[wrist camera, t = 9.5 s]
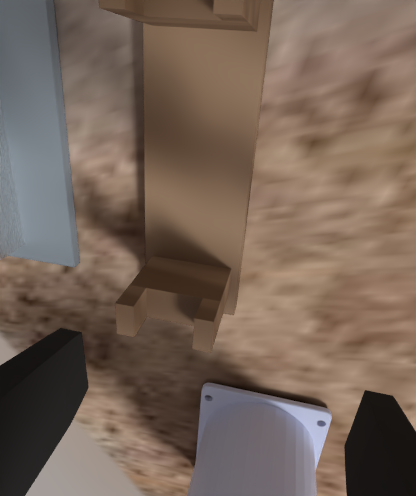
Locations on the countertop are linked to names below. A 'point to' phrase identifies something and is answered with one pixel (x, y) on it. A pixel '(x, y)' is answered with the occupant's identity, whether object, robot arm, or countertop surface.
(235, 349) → the countertop surface
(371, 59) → the countertop surface
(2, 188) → the steel rail
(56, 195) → the slate mat
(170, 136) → the cradle rack
